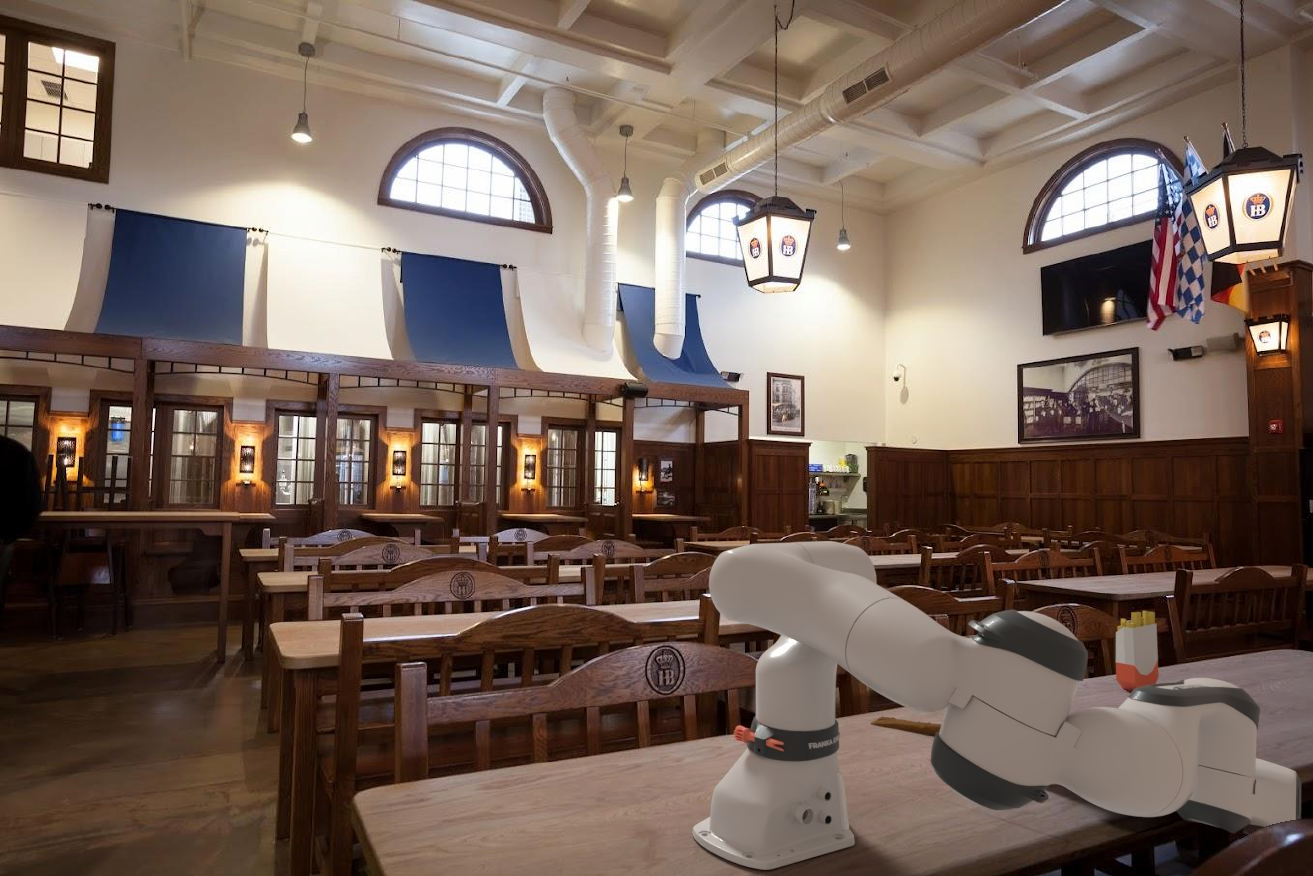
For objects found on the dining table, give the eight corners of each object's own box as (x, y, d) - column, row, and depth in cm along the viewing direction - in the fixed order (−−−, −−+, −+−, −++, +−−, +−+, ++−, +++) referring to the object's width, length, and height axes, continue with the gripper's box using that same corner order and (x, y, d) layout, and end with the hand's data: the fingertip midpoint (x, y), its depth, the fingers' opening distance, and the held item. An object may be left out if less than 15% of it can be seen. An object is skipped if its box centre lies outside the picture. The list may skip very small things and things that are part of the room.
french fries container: (1114, 690, 182) (1112, 611, 184) (1138, 683, 188) (1135, 607, 189) (1135, 694, 179) (1132, 614, 180) (1159, 687, 185) (1156, 610, 186)
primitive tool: (869, 726, 156) (868, 708, 157) (881, 720, 160) (881, 702, 161) (967, 747, 144) (967, 727, 144) (977, 740, 148) (977, 721, 148)
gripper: (1135, 810, 107) (1033, 781, 118) (1185, 775, 121) (1089, 752, 131) (1134, 762, 108) (1031, 738, 118) (1183, 733, 121) (1087, 713, 131)
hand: (1062, 745), depth 125 cm, fingers closed
